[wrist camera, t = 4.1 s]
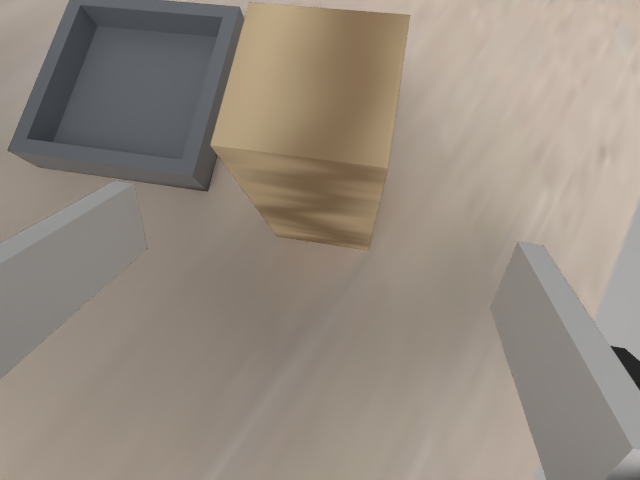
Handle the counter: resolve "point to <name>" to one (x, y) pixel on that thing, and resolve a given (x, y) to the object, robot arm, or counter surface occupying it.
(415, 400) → the counter surface
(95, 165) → the slate tray
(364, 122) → the oak block
